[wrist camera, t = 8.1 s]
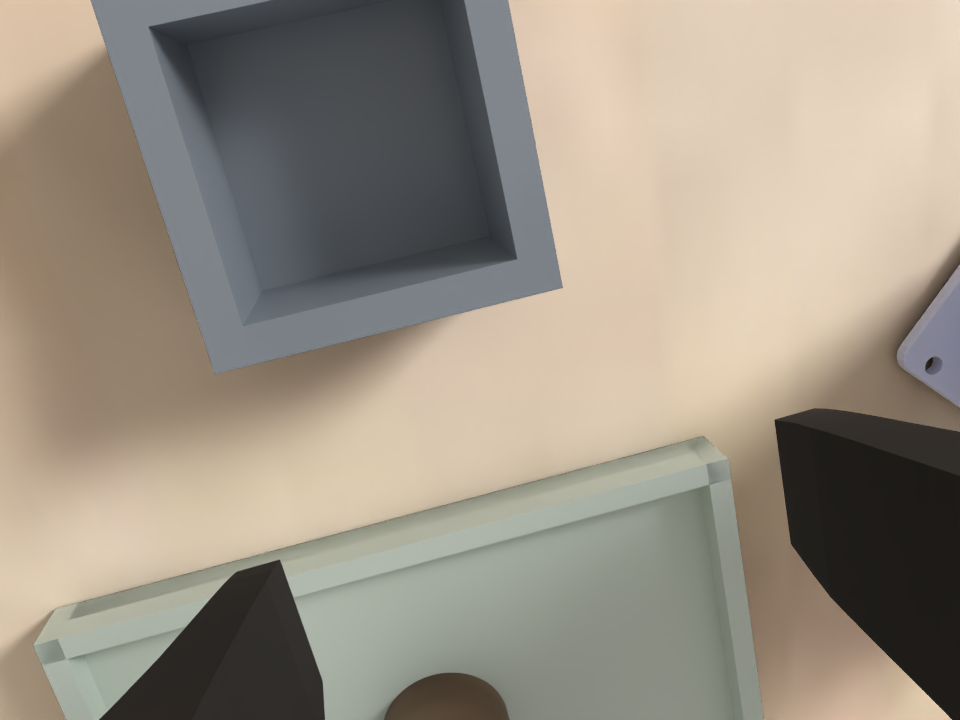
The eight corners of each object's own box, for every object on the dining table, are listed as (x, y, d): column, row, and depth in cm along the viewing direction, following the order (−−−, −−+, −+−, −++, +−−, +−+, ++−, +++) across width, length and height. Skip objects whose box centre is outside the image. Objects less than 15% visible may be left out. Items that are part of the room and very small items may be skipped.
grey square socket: (460, -51, 19) (489, -97, 15) (523, 256, 21) (562, 287, 17) (145, 17, 18) (86, -13, 14) (242, 324, 20) (214, 374, 16)
